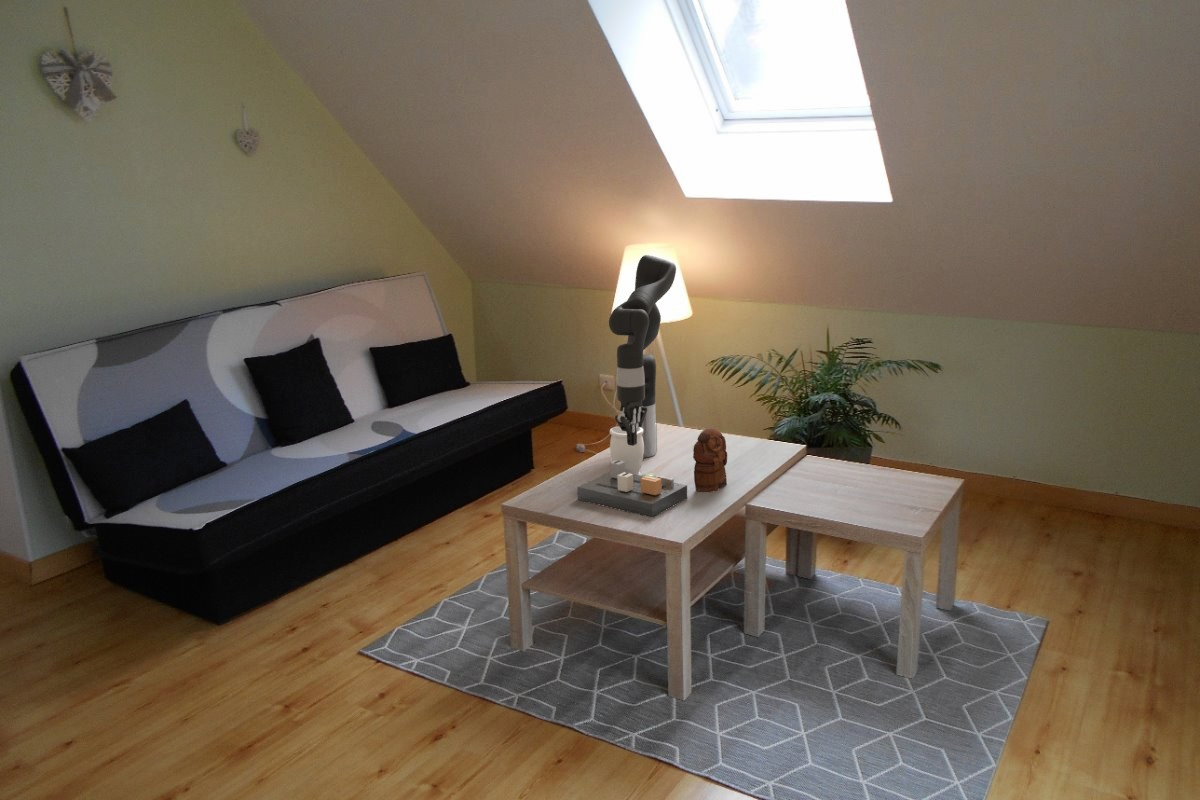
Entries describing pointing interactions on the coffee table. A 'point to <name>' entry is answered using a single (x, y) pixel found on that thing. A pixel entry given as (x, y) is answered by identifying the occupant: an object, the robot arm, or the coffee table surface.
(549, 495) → the coffee table surface
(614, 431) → the jar
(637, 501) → the panel
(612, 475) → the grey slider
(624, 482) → the ivory slider
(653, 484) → the tan box with strip
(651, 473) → the pale green dome
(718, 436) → the wooden figurine
